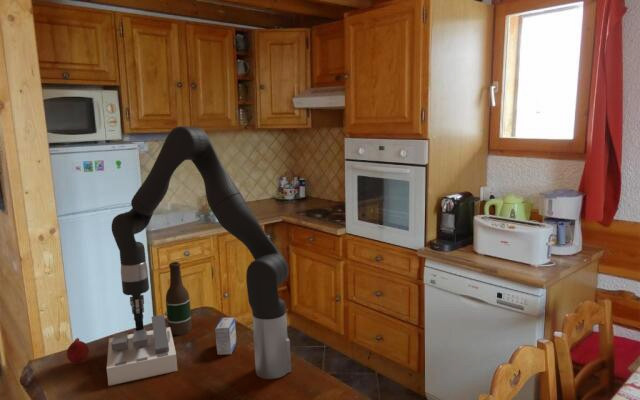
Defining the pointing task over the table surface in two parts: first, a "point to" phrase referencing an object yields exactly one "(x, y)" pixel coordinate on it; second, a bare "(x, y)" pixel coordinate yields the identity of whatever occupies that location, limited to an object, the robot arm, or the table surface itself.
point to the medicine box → (225, 336)
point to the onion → (77, 351)
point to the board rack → (139, 360)
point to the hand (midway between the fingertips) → (139, 330)
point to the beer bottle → (178, 303)
